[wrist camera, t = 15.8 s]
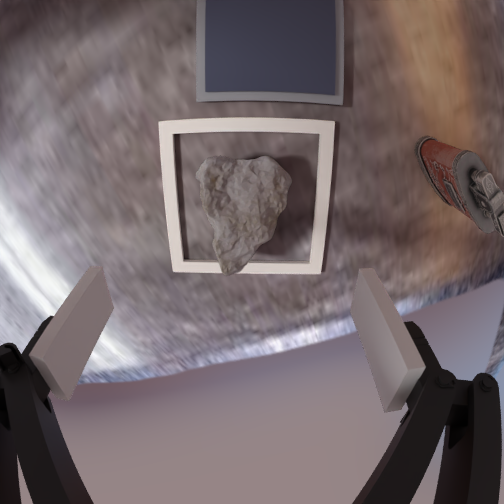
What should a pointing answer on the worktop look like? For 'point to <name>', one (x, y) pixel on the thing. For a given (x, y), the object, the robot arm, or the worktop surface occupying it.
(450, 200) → the lighter
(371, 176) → the worktop surface
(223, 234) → the stone
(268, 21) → the ink pad
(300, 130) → the white flat square frame
